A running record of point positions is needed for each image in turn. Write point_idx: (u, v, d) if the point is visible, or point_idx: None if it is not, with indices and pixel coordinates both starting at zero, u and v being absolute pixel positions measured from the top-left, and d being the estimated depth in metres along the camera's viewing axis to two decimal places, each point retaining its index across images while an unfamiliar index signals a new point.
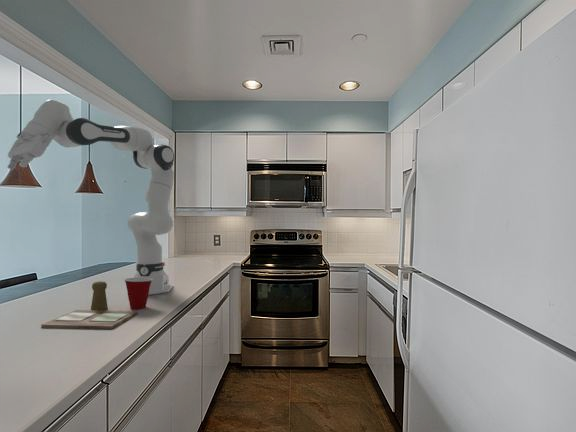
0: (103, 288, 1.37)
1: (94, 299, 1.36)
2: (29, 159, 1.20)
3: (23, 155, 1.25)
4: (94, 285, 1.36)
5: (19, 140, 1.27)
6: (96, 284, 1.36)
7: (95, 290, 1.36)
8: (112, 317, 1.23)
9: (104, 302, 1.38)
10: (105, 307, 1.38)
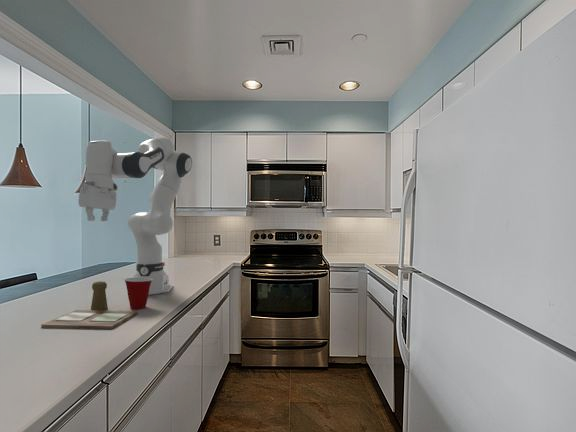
0: (103, 288, 1.37)
1: (94, 299, 1.36)
2: (89, 212, 1.23)
3: None
4: (94, 285, 1.36)
5: None
6: (96, 284, 1.36)
7: (95, 290, 1.36)
8: (112, 317, 1.23)
9: (104, 302, 1.38)
10: (105, 307, 1.38)
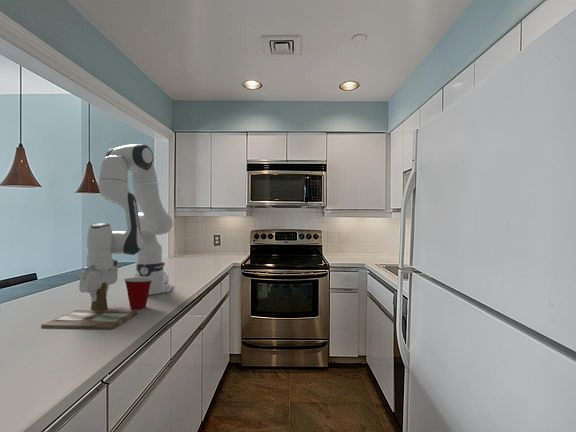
0: (103, 288, 1.37)
1: None
2: (93, 294, 1.34)
3: None
4: None
5: None
6: None
7: None
8: (112, 317, 1.23)
9: (104, 302, 1.38)
10: (105, 307, 1.38)
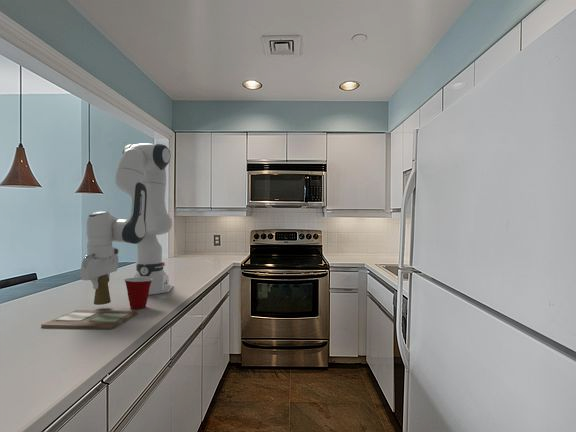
0: (106, 282, 1.38)
1: (97, 292, 1.37)
2: (94, 281, 1.35)
3: None
4: None
5: None
6: (99, 278, 1.37)
7: None
8: (112, 317, 1.23)
9: (107, 295, 1.39)
10: (108, 300, 1.39)
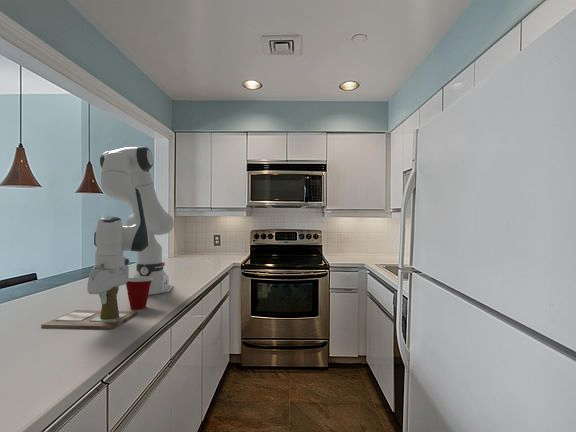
0: (114, 293, 1.23)
1: (104, 306, 1.22)
2: (102, 295, 1.19)
3: None
4: None
5: None
6: None
7: None
8: None
9: (115, 309, 1.23)
10: (116, 314, 1.23)
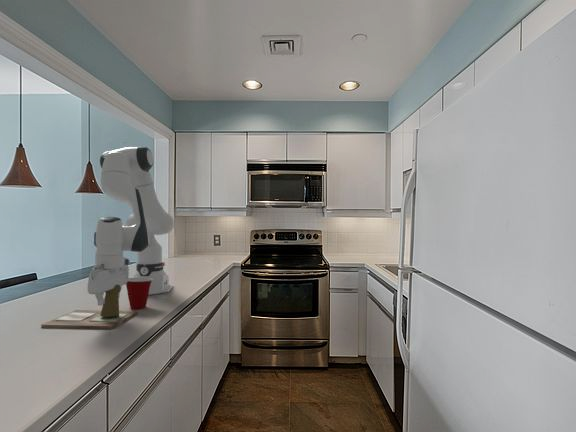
0: (117, 291, 1.24)
1: (106, 303, 1.22)
2: (99, 297, 1.17)
3: None
4: None
5: None
6: None
7: (108, 292, 1.23)
8: (112, 317, 1.23)
9: (116, 307, 1.24)
10: (117, 313, 1.24)
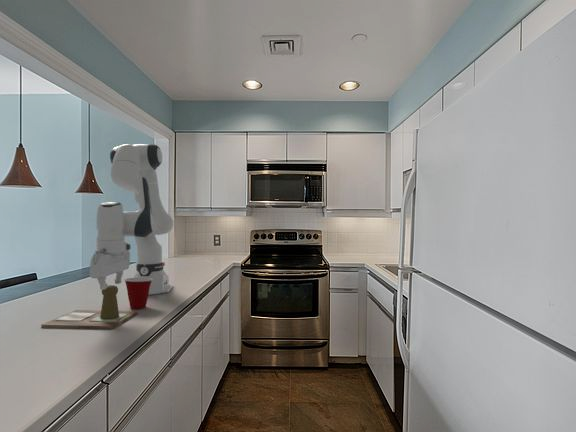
0: (114, 293, 1.23)
1: (104, 305, 1.22)
2: (102, 281, 1.18)
3: None
4: None
5: None
6: None
7: (105, 295, 1.22)
8: None
9: (115, 308, 1.23)
10: (116, 314, 1.23)
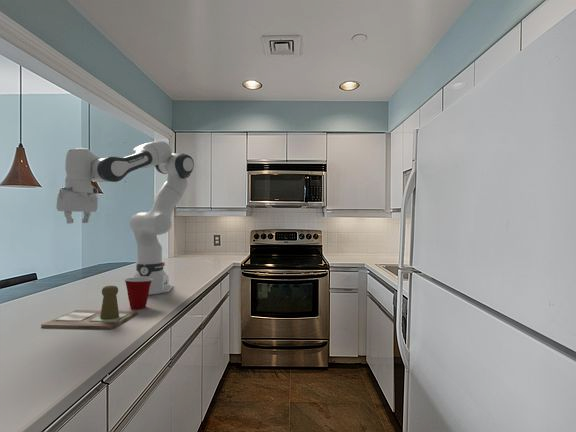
0: (114, 293, 1.23)
1: (104, 305, 1.22)
2: (68, 215, 1.32)
3: None
4: (104, 290, 1.22)
5: None
6: (106, 289, 1.22)
7: (105, 295, 1.22)
8: None
9: (115, 309, 1.23)
10: (116, 314, 1.23)
